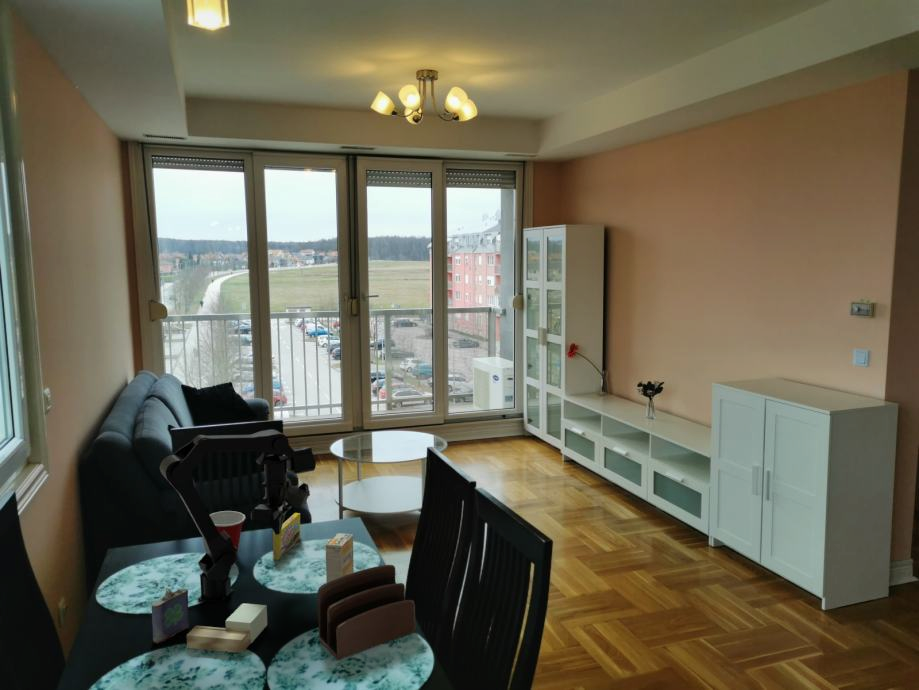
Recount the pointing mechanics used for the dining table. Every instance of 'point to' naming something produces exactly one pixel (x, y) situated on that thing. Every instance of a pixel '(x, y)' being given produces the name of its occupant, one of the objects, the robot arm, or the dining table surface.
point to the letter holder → (363, 611)
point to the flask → (170, 614)
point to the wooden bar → (218, 639)
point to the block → (249, 619)
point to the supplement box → (339, 556)
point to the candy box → (286, 536)
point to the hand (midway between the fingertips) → (277, 534)
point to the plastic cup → (229, 524)
